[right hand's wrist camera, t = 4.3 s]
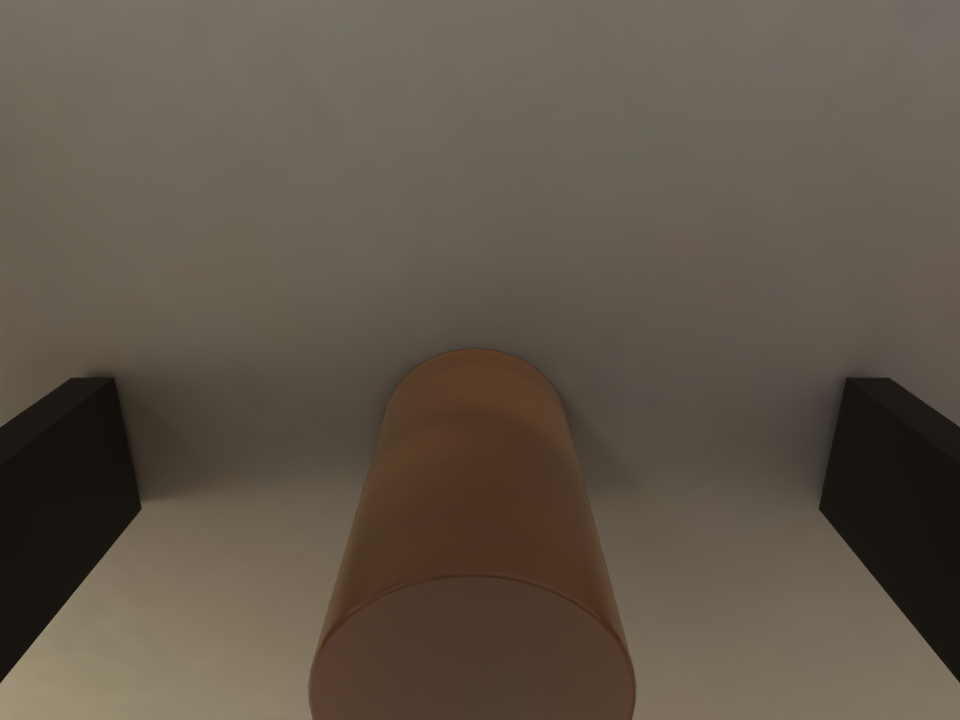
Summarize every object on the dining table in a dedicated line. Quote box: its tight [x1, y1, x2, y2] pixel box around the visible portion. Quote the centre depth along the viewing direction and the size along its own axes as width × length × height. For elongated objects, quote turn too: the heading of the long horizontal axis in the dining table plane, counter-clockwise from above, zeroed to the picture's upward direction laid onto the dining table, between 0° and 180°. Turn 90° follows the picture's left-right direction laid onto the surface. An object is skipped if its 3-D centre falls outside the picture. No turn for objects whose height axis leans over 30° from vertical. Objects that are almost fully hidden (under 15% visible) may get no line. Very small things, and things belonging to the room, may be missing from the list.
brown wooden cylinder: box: [308, 349, 636, 720], centre depth 10 cm, size 3×3×6 cm
